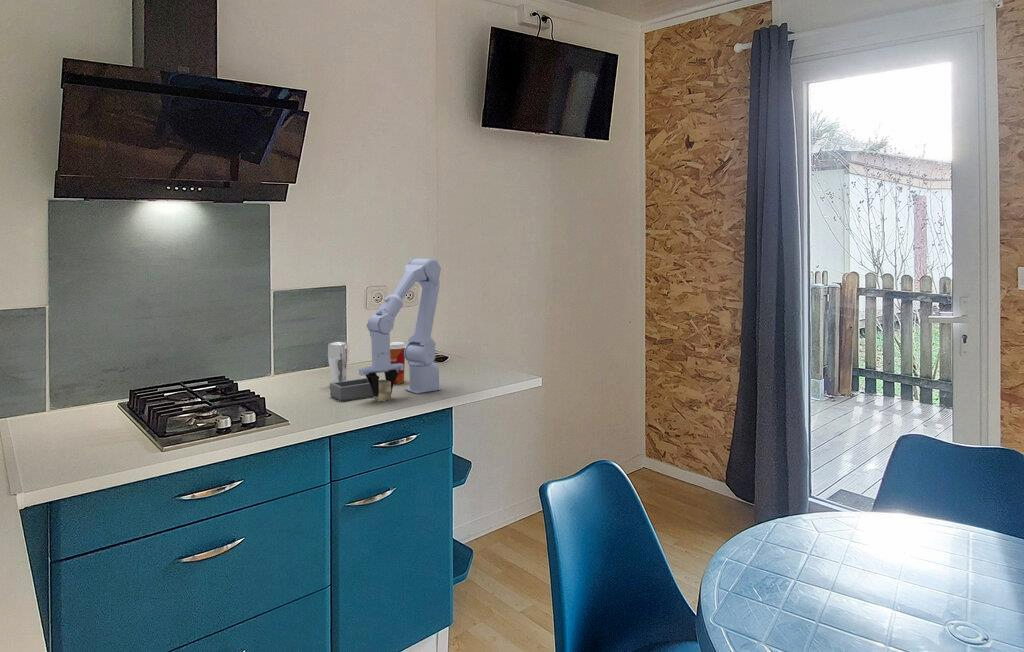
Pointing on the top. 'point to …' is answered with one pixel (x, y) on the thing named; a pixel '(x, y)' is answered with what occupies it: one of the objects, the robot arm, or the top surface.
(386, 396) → the birch block
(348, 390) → the grey rectangular open box
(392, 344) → the paper cup
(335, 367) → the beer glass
